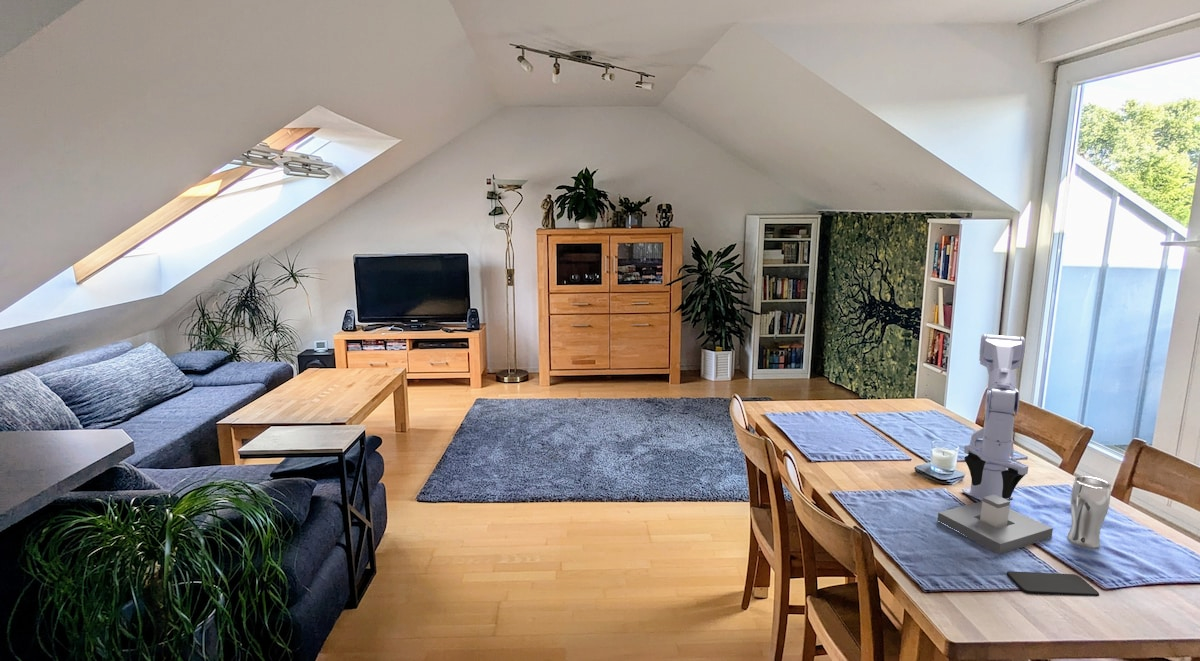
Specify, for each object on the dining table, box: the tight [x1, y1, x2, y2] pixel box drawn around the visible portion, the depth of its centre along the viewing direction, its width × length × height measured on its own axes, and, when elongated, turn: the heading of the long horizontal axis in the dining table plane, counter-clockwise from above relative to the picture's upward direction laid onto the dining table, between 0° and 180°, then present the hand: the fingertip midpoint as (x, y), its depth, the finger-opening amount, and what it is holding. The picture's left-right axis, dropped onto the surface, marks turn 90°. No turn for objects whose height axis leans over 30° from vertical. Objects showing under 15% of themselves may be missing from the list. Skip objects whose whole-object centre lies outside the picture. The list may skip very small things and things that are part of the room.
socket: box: [937, 500, 1054, 555], centre depth 150 cm, size 18×16×2 cm
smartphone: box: [1006, 570, 1100, 597], centre depth 128 cm, size 7×1×15 cm
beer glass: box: [1066, 475, 1112, 549], centre depth 143 cm, size 7×7×15 cm
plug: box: [980, 495, 1011, 529], centre depth 149 cm, size 4×4×8 cm
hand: (991, 490), depth 150 cm, fingers open, 7 cm apart
